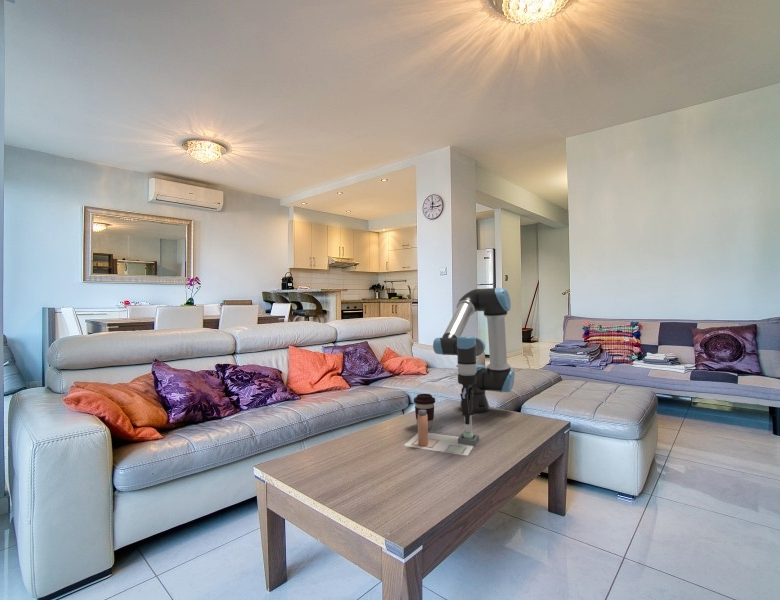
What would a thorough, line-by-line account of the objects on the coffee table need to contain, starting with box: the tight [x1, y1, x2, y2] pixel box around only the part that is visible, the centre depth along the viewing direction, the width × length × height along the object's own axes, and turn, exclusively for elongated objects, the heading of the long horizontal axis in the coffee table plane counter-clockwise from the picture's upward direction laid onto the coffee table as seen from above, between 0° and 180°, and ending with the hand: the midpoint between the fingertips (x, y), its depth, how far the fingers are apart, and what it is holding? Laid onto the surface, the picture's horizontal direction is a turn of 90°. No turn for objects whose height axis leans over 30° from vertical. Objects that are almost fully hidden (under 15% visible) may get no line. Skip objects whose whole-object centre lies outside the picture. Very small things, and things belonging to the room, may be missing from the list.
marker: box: [417, 410, 429, 446], centre depth 152 cm, size 4×4×14 cm
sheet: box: [403, 432, 475, 456], centre depth 154 cm, size 18×26×1 cm
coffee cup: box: [413, 393, 436, 430], centre depth 174 cm, size 10×10×15 cm
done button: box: [462, 430, 474, 440], centre depth 155 cm, size 4×4×3 cm
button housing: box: [458, 432, 480, 447], centre depth 155 cm, size 7×7×2 cm
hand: (468, 431), depth 154 cm, fingers closed
